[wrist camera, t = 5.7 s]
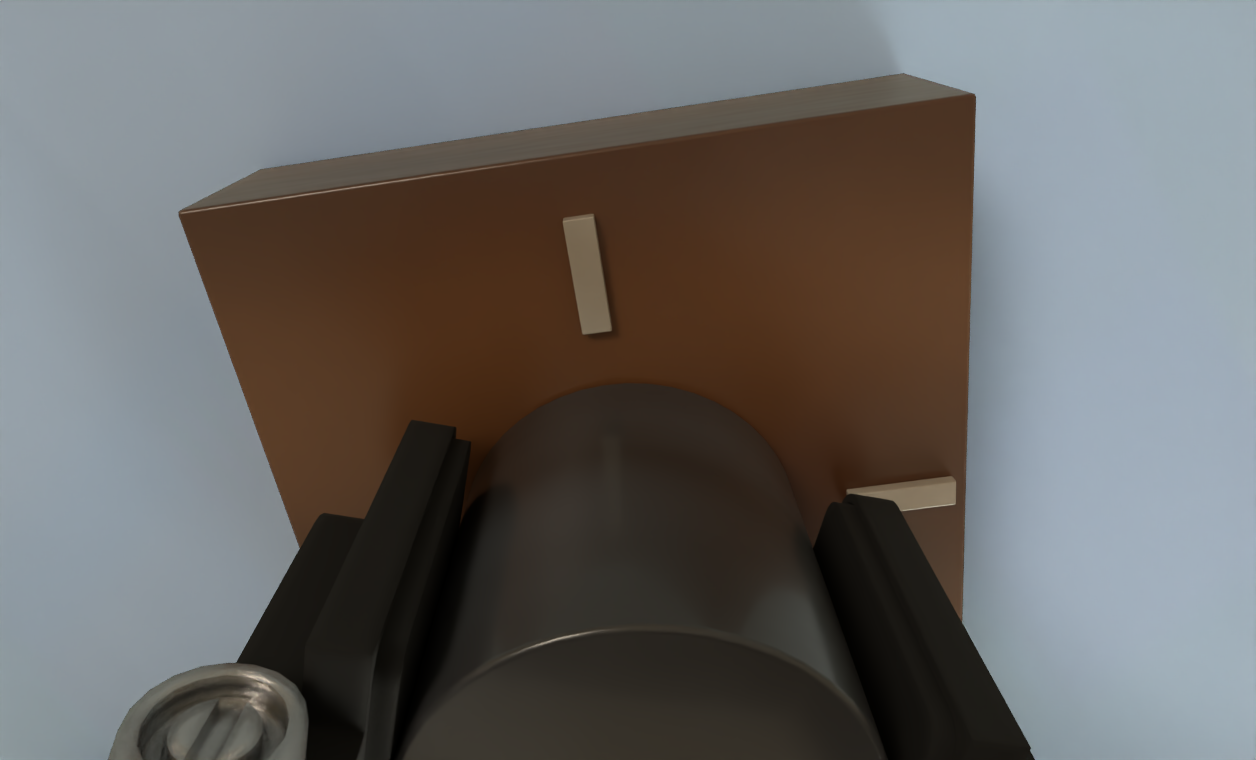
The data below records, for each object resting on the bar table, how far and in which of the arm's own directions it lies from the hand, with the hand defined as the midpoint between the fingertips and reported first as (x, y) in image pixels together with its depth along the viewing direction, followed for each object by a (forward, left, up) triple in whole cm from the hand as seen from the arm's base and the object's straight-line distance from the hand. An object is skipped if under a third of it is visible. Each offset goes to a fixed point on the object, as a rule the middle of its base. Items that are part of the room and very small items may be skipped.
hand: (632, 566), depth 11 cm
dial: (0, 0, -1) cm, 1 cm away
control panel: (0, 0, -3) cm, 3 cm away
